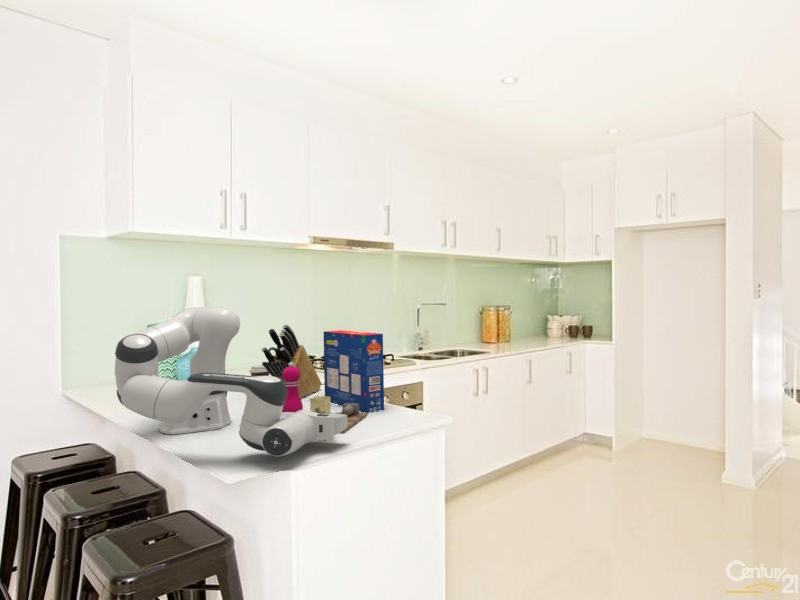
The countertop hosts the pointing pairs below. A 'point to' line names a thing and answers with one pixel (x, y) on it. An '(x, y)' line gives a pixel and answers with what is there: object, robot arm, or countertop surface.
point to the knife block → (291, 353)
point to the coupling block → (320, 404)
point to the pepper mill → (292, 389)
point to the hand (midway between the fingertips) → (321, 415)
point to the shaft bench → (351, 422)
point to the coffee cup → (258, 371)
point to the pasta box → (354, 369)
